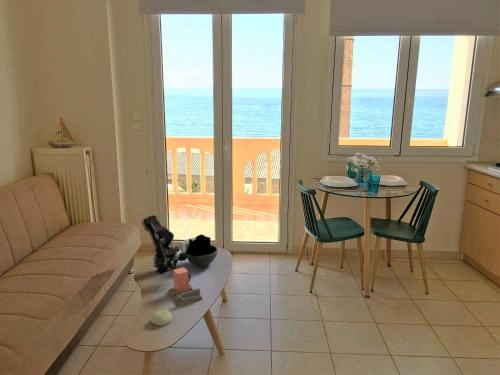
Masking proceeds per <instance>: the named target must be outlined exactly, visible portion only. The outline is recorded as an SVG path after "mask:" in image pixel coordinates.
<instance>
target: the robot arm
mask: <svg viewBox="0 0 500 375" xmlns="http://www.w3.org/2000/svg"><path fill="white" fill-rule="evenodd" d="M141 226H142V228H143V229H144V230H145V231H146V232H148V234H149V237H150V239H151V241H152V244H153V246H154V255H153V258H152V259H153V267H154V268H156V269H155V270H154V272H155V273H158V274H161V275H162V274H164V273H166V272H167V273H168V272H169V271H171V272H172V273H173V270H175V269H177V264H178V262H179V261H180V262H183V261H186V260H187V257H188V255H187V253H186V252H183V253H182V252H181V249H180V246H178V245H177V246H176V245H175V246H174V247H173V246H172V242H173V240H174V238H175V235H174V234H175V233H173V232H171V231H170V230H169V229H168V228H167V227H166V226H163V225H162V224H161V222H160V221H159V220H158V218H157V216H156V215H148V216H147V217H145V218H143V219H142V220H141ZM179 252H180V253H179ZM178 253H179V255H177V254H178Z"/></svg>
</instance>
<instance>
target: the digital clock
mask: <svg viewBox="0 0 500 375" xmlns="http://www.w3.org/2000/svg"><path fill="white" fill-rule="evenodd" d="M189 239H192V241H193V240H195V239H196V236H194V237H191V238H188V239H185V240H183V241H179V249H180V253H183V252H185V250H186V249H187V248H188V246H189Z"/></svg>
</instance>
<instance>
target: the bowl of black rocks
mask: <svg viewBox="0 0 500 375" xmlns="http://www.w3.org/2000/svg"><path fill="white" fill-rule="evenodd" d="M195 237H196V239H195V240H193V241H192V239H190V238H188V239H189V246H188V248H187V249H186V250H185V252H186V253H187V255H188V257H187V258H186V260H187V261H188V262H189V263H190V264H192V265H193V266H195V267H200V268H201V267H207V266H208V265H210V264H212V263H213V262H214V261H215V259H216V257H217V255H218V247H217V246H215V245H213V244H211V237H210V236H206V235H204V234H199V235H197V236H195Z"/></svg>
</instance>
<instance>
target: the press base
mask: <svg viewBox="0 0 500 375" xmlns="http://www.w3.org/2000/svg"><path fill="white" fill-rule="evenodd" d="M167 292H168V293H169V295H170V296H171V295H172V296H171V297H172V299H174V300H175V302H176V303H177V304H178V306H179V307H183V306H186V305H187V306H188V305H190V304H192V303H196V302H200V301H202V300H203V296H202V295H201V290H200V288H194V287H193V285H191V284H190V283H189V290H188V291H185V292H182V293H178V292H177V291H176V290H175V287H170V288H168V289H167Z"/></svg>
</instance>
